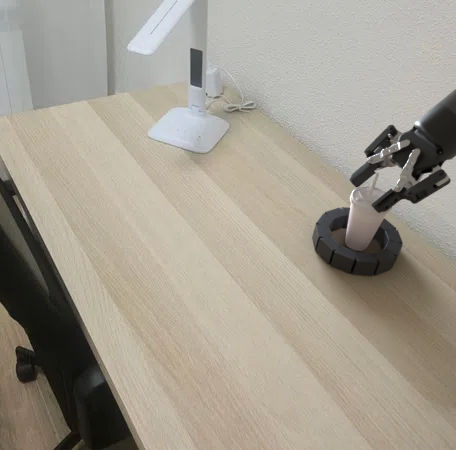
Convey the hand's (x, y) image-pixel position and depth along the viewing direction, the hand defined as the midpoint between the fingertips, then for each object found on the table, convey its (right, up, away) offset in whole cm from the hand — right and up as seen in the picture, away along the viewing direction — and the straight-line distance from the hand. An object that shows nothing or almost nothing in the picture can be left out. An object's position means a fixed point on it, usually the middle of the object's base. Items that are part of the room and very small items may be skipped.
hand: (363, 196), depth 85 cm
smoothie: (+1, -8, +7) cm, 11 cm away
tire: (+1, -8, +8) cm, 11 cm away
